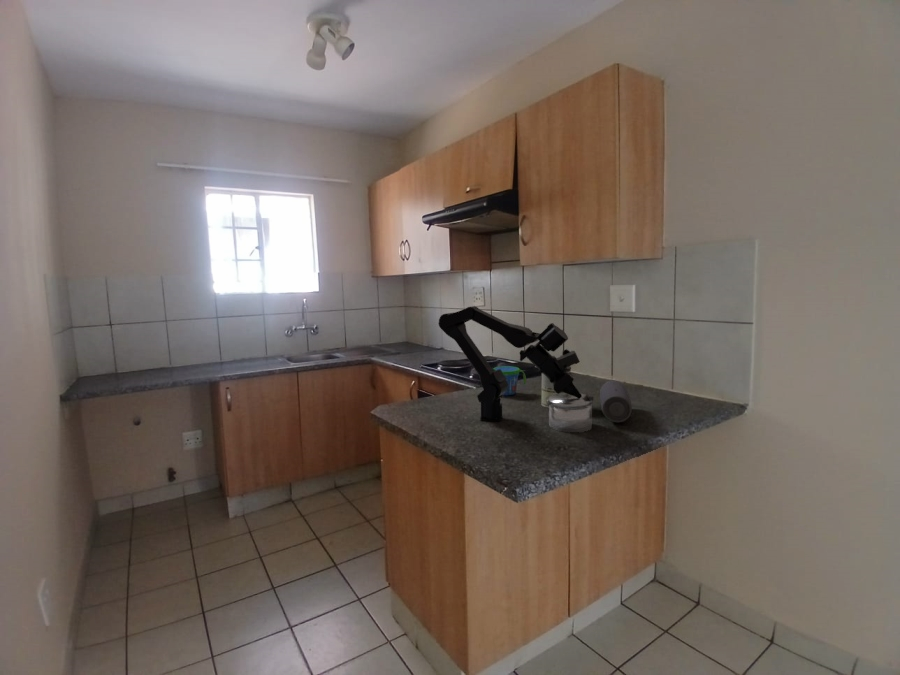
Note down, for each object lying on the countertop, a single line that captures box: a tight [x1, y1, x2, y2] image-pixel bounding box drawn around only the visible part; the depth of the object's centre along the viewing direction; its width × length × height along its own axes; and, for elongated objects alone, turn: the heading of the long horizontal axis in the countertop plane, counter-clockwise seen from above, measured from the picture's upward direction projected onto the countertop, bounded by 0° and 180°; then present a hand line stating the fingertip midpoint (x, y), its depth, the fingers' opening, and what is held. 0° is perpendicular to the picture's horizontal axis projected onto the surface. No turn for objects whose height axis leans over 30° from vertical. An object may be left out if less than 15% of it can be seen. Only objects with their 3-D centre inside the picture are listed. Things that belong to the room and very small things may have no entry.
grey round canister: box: [548, 403, 593, 433], centre depth 135 cm, size 13×13×7 cm
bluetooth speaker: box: [599, 379, 633, 423], centre depth 144 cm, size 23×9×10 cm, turn 163°
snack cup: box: [492, 365, 527, 396], centre depth 175 cm, size 16×10×10 cm
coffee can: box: [540, 365, 572, 409], centre depth 157 cm, size 10×10×14 cm
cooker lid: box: [546, 390, 594, 408], centre depth 134 cm, size 14×13×2 cm
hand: (580, 397), depth 133 cm, fingers closed
